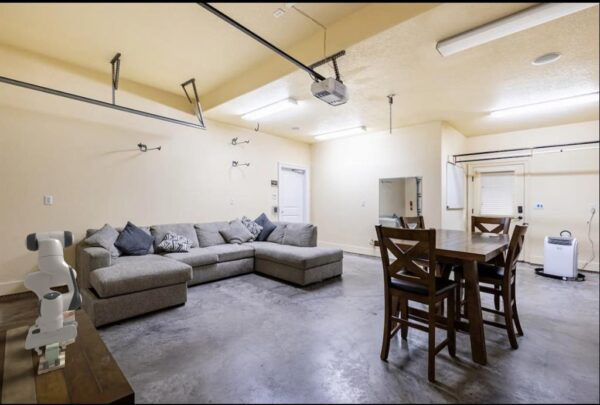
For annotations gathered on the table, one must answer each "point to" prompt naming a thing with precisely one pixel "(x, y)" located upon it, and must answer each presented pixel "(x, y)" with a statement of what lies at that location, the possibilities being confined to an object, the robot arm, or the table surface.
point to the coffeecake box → (66, 318)
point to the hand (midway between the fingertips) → (52, 351)
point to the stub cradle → (58, 364)
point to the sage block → (52, 353)
